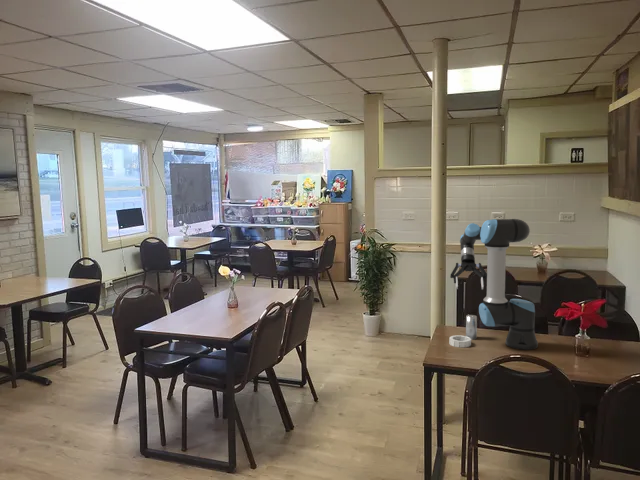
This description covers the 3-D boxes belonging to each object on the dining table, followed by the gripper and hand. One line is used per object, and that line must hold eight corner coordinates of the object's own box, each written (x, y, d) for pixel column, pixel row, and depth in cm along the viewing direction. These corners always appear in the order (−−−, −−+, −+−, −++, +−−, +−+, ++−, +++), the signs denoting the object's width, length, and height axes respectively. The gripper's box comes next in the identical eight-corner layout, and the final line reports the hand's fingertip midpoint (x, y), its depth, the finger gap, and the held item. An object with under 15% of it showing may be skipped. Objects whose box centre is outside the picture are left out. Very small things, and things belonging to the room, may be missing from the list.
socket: (475, 345, 247) (475, 339, 247) (459, 348, 243) (459, 342, 243) (461, 339, 257) (461, 334, 257) (445, 342, 252) (445, 337, 252)
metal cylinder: (478, 338, 258) (479, 316, 257) (470, 340, 256) (471, 318, 255) (471, 335, 263) (471, 314, 262) (463, 337, 261) (463, 315, 260)
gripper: (489, 261, 280) (492, 292, 267) (445, 260, 286) (446, 291, 273) (491, 253, 275) (494, 284, 262) (445, 253, 280) (446, 283, 267)
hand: (469, 288), depth 267 cm, fingers open, 13 cm apart
